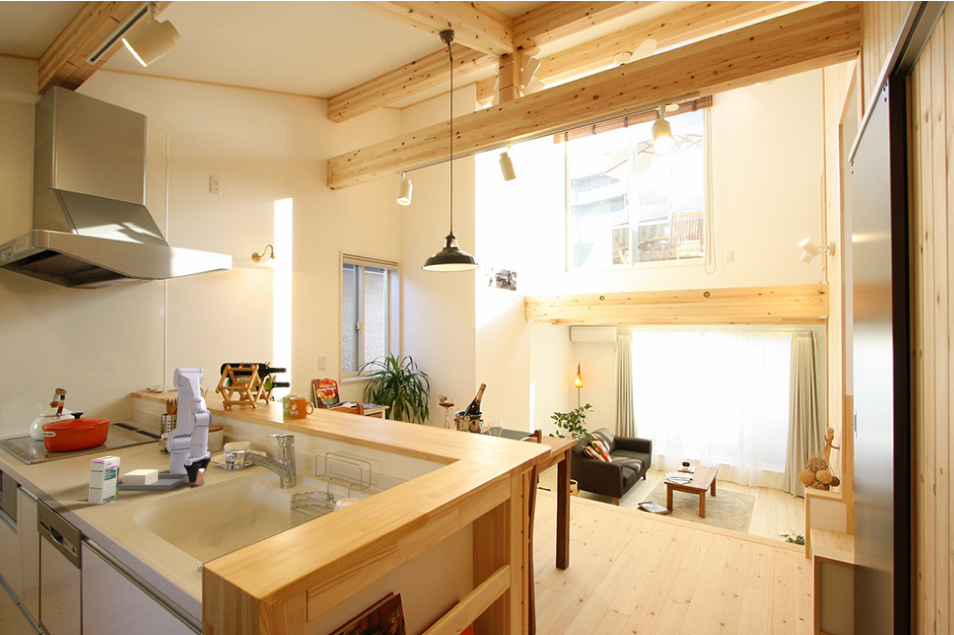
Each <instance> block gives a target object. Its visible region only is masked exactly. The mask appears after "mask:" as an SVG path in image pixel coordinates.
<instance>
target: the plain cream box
mask: <svg viewBox="0 0 954 635" xmlns="http://www.w3.org/2000/svg"><path fill="white" fill-rule="evenodd" d="M158 473H159V469H135V470H131V471H130V472H127V473H125V474H122V479H121V480H122V484H143V485H149V484H152V483H154V482H156V481H158Z"/></svg>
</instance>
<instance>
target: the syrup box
mask: <svg viewBox="0 0 954 635" xmlns="http://www.w3.org/2000/svg"><path fill="white" fill-rule="evenodd" d="M120 464H121V457H120V456H117V455H107V456H103V457H99V458H94V459H91V460H90V469H89V470H90V471H89V484H88V485H89V486H88V488H89V489H88V497H87V498H88V499H87V500H88V501H87V502H88V503H89V504H93V505H103V504H106V503H109V502H110V501H111V500H113V499H116V498H118V497H119V496H118V495H119V490H118V483H119V481H120Z"/></svg>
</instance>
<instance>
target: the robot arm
mask: <svg viewBox="0 0 954 635" xmlns="http://www.w3.org/2000/svg"><path fill="white" fill-rule="evenodd" d="M204 372H205V371H204V369H203V368H202V367H198V368H197V367H195V368H194V367H193V368H192V367H191V368H190V367H189V368H187V367H181V368H179V367H176V369H175V370H174V372H173V381H172V382H173V383H172V385H173V388H175V389H177V407H176V409H177V410H176V427H175V428H173V429H172V430H171V431H170V432H169V433H168V435H167V440H166V450H167V451H168V453H170V458H169V459H170V461H169V473H171V474H188V478H189V481H188V482H196V480H197V475H198V471H199V468H200V467H202V468H205V472H206V471H207V469H208V465H209V464H210V463H211V460H212V458H211V457H210V455H211V452H210V451H208V441H209V440H208V439H209V427H211V425H212V421H213V420H212V418H213V417H212V413H211V412H210V410H209V409H207V405H206V400H205V398H204V397H203V396H201V387H200V386H201V384H202V381H203V380H204V375H205V373H204Z"/></svg>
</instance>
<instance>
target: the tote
mask: <svg viewBox="0 0 954 635" xmlns="http://www.w3.org/2000/svg"><path fill="white" fill-rule="evenodd" d="M187 482H189V478H188V474H187V473H179V474H172V473H162V472H161V473H159V472H158V481H156V482H154V483H152V484H149V485H143V484H122V479H121V480H119V483H118V491H171V490H173V489H175V488H177V487H180V486H181V485H184V484H185V483H187Z"/></svg>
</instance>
